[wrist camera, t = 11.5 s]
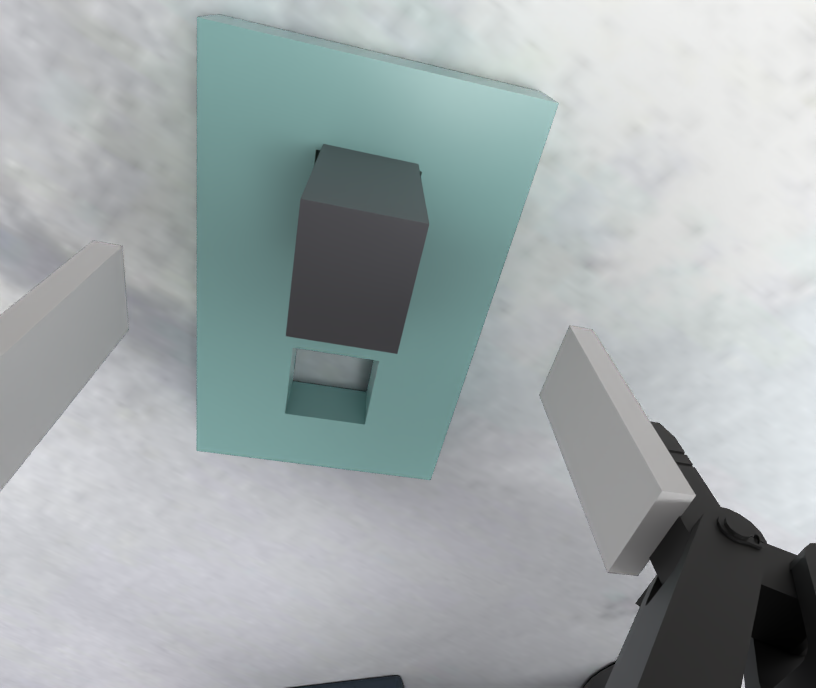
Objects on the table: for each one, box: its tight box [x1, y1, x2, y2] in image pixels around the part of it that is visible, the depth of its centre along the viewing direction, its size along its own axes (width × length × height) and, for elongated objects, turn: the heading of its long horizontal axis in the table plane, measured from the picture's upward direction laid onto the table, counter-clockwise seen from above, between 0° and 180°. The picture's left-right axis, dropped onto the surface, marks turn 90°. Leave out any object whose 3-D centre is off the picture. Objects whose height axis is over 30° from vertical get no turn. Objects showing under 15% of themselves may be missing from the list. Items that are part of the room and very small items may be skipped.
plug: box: [286, 144, 429, 354], centre depth 22 cm, size 5×4×10 cm
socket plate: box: [197, 14, 559, 480], centre depth 27 cm, size 22×14×3 cm, turn 168°
